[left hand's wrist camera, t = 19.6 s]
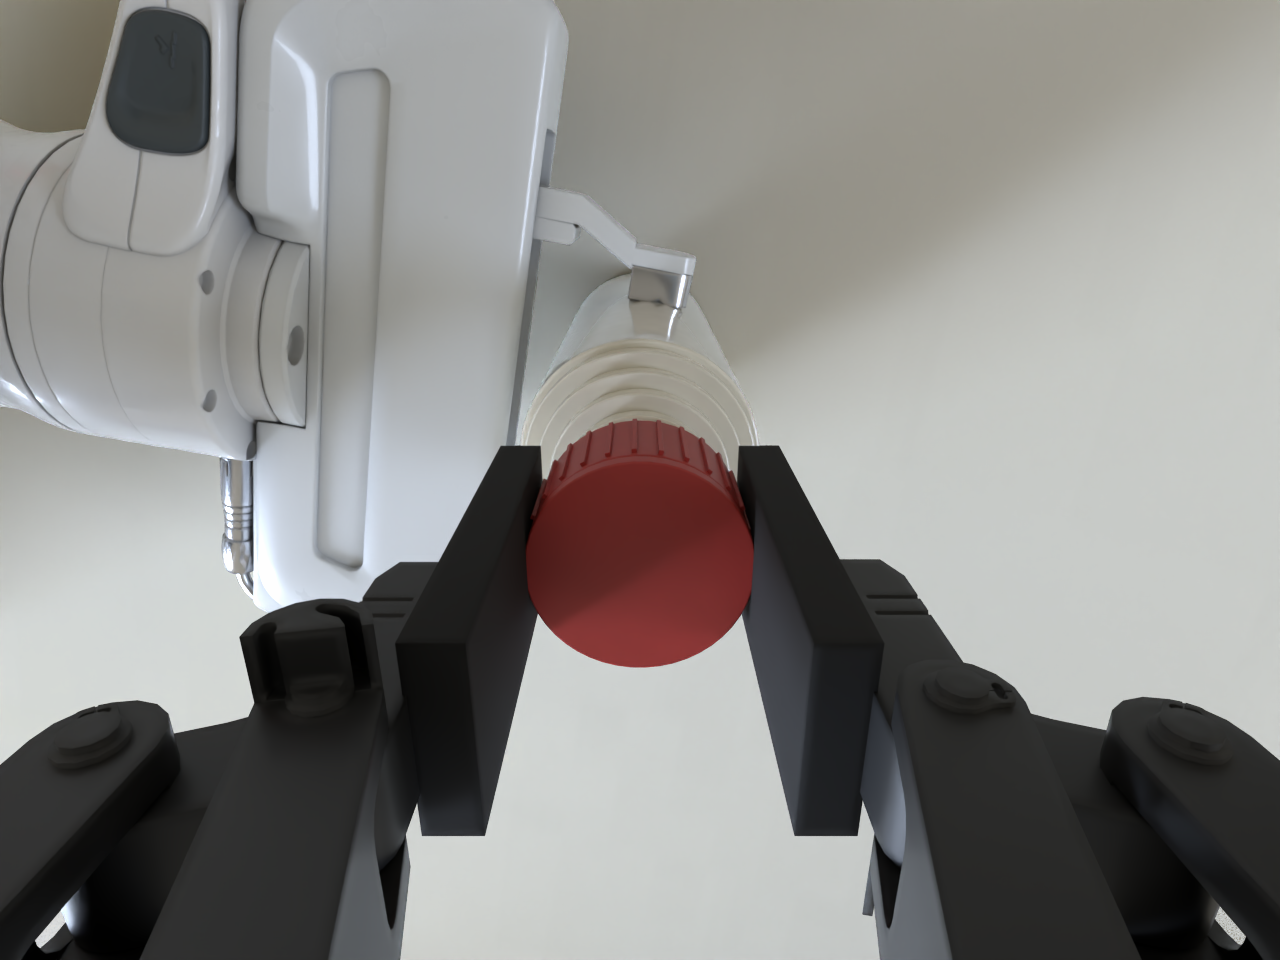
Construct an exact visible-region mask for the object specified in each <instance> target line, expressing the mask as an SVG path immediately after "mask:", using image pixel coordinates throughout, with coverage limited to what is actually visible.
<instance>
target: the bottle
mask: <svg viewBox="0 0 1280 960" xmlns="http://www.w3.org/2000/svg"><path fill="white" fill-rule="evenodd" d="M630 278H631V274H625V275H621V276H618V277H615V278H613V279H610V280H608V281H606V282H605V283H603V284H602V285H600V286H598V287H597V288H596V289H595V290H594V291H593V292H591V293H590V294H589V296H588V297H587V298H586V299H585V300H584V302H583V303H582V305H581V306H580V308H579V309H578V311H577V313H576V315H575V317H574V319H573V321H572V323H571V325H570V327H569V329H568V331H567V333H566V335H565V337H564V339H563V341H562V343H561V345H560V347H559V349H558V351H557V353H556V355H555V357H554V359H553V361H552V363H551V365H550V367H549V369H548V371H547V373H546V375H545V377H544V379H543V381H542V383H541V385H540V387H539V389H538V391H537V393H536V395H535V397H534V399H533V402H532V404H531V406H530V408H529V410H528V412H527V415H526V418H525V421H524V424H523V429H522V435H521V440H520V446H541V460H542V479H547V478H548V475H549V472H550V469H551V466H552V463H553V461H554V460H558V459H559V458H560V457H561V455H562V454H563V453H564V452H565V451H566V450H567V446H568V445H569V444H570V443H571V444H574V443H575V442H576V441H578V440H579V439H580V438H582V437H583V436H585V435H586V433H587V432H588V431H590V430H591V432H592V431H594V430H596V429H599V428H602V427H604V426H607V425H609V423H610V422H613V423H614V424H615V423H619V422H625V421H632V419H637V420H641V421H655V422H656V421H657V420H661V422H662V423H665V424H669V425H673V426H676V427H678V428H679V427H680V426H681V427H684V429H685V431H688V432H690V433H691V434H693V435H695V436H696V437H698V438H701V437H702V438H704V439H705V443H706V444H707V445H709V446H710V447H711V448H712V449H713V450H714V451H715V452H716V453H718V452H719V453H720V454H721V455H722V458H723V462H724V463H725V465H726V466H727V468H728V470H729V471H731V470H732V471H733V473H734V475H735V479H736V482H737V470H738V450H739V446H760V443H759V435H758V429H757V425H756V422H755V418H754V415H753V413H752V410H751V408H750V406H749V403H748V401H747V399H746V397H745V395H744V393H743V391H742V389H741V387H740V385H739V383H738V381H737V379H736V377H735V375H734V373H733V371H732V369H731V367H730V365H729V363H728V361H727V359H726V357H725V355H724V353H723V351H722V349H721V347H720V345H719V343H718V341H717V339H716V337H715V335H714V333H713V331H712V329H711V327H710V325H709V323H708V321H707V319H706V317H705V315H704V313H703V311H702V310H701V308H700V306H699V305H698V303H697V302H696V300H695V299H694V298H693V297H692V296H691V295H690V294H689V296H688V300H687V305H686V308H676V307H671V306H668V305H664V304H663V303H662V302H661V301H660V300H659V299H656V300H654V301H652V302H646V301H639V300H634V299H629V298H628V291H629V284H630Z"/></svg>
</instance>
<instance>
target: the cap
mask: <svg viewBox="0 0 1280 960" xmlns="http://www.w3.org/2000/svg"><path fill="white" fill-rule="evenodd" d="M745 510H746V509H745V506H744V503H743V500H742V497H741V494H740V491H739V488H738V485H737V482H736V479H735V475H734V473H733V471H732V470H731V471H729V470H728V468H727V466H726V465H725V463H724V462H723V458H722V455H721V454H720V453H719V452H718V453H716V452H715V451H714V450H713V449H712V448H711V447H710V446H709V445H707V444H706V443H705V439H704V438H702V437H701V438H698V437H696V436H695V435H693V434H691V433H690V432H688V431H685V429H684V427H681V426H680V427H679V428H678V427H676V426H673V425H669V424H665V423H662V422H661V420H657V421H656V422H655V421H641V420H637V419H632V421H625V422H619V423H615V424H614V423H613V422H610V423H609V425H607V426H604V427H602V428H599V429H596V430H594V431H592V432H591V430H590V431H588V432H587V433H586V435H585V436H583V437H582V438H580V439H579V440H578V441H576V442H575V443H574V444H571V443H570V444H569V445H568V446H567V450H566V451H565V452H564V453H563V454H562V455H561V457H560V458H559V459H558V460H554V461H553V463H552V466H551V469H550V472H549V475H548V478H547V479H543V481H542V484H541V487H540V490H539V493H538V496H537V499H536V502H535V505H534V508H533V511H532V515H531V518H530V519H532V520H533V523H532V526H531V529H530V532H529V536H528V539H527V543H526V565H527V581H528V592H529V595H530V598H531V601H532V603H533V605H534V607H535V609H536V611H537V613H538V614H539V615H540V617H541V618H542V620H543V621H544V623H545V624H546V625H547V626H548V627H549V629H550V630H551V631H552V632H553V633H554V634H555V635H556V636H557V637H558V638H560V639H561V640H562V641H563V642H564V643H566V644H567V645H569V646H570V647H572V648H573V649H575V650H576V651H578V652H580V653H582V654H584V655H586V656H588V657H590V658H593V659H596V660H598V661H601V662H604V663H608V664H613V665H617V666H625V667H655V666H662V665H667V664H672V663H675V662H678V661H682V660H685V659H687V658H690V657H692V656H694V655H696V654H698V653H700V652H702V651H703V650H705V649H707V648H708V647H710V646H712V645H713V644H714V643H715V642H717V641H718V640H719V639H720V638H722V637H723V636H724V635H725V634H726V633H727V632H728V631H729V630H730V629H731V628H732V626H733V625H734V624H735V622H736V621H737V620H738V618H739V617H740V616H741V614H742V612H743V610H744V608H745V607H746V605H747V603H748V600H749V598H750V595H751V588H752V573H753V557H754V544H753V539H752V536H751V528H750V525H749V522H748V519H747V515H746V512H745Z"/></svg>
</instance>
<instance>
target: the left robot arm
mask: <svg viewBox="0 0 1280 960" xmlns="http://www.w3.org/2000/svg"><path fill="white" fill-rule="evenodd" d="M542 481H543V479H542V460H541V446H500V448H499V450H498V452H497V453H496V455H495V457H494V459H493V461H492V463H491V465H490V467H489V468H488V470H487V472H486V474H485V476H484V478H483V480H482V481H481V483H480V485H479V487H478V489H477V491H476V493H475V495H474V496H473V498H472V500H471V502H470V504H469V506H468V508H467V510H466V511H465V513H464V515H463V517H462V519H461V521H460V523H459V524H458V526H457V528H456V530H455V532H454V534H453V536H452V538H451V539H450V541H449V543H448V545H447V547H446V549H445V551H444V552H443V554H442V556H441V558H440V560H439V562H399V563H398V564H396V565H395V566H393V567H392V568H390V569H389V570H387V571H386V572H384V573H383V574H381V575H380V576H378V577H377V578H375V580H374V581H373V583H372V584H371V586H370V587H369V589H368V590H367V591H366V593H365V594H364V596H363V597H362V601H360V602H355V601H351V600H347V599H324V598H320V599H315V600H309V601H304V602H298V603H294V604H291V605H288V606H286V607H283V608H280V609H277V610H274V611H272V612H270V613H268V614H267V615H265V616H263V617H262V618H260V619H258V620H257V621H255V622H253V623H252V624H251V625H250V626H249V627H248V628H247V629H246V630H245V631H244V633H243V634H242V635H241V636H240V637H239V638H240V642H241V646H242V651H243V655H244V659H245V664H246V668H247V672H248V677H249V681H250V685H251V690H252V694H253V699H254V705H253V708H252V710H251V712H250V714H249V717H247V718H243V719H239V720H236V721H232V722H228V723H223V724H219V725H214V726H209V727H204V728H199V729H194V730H189V731H184V732H180V733H175V734H174V732H173V729H172V725H171V722H170V718H169V715H168V713H167V712H166V711H165V710H163V709H162V708H161V707H160V706H159V705H158V704H154V703H149V702H143V701H138V700H136V701H125V702H113V703H108V704H103V705H98V707H95V706H94V707H91V708H88V709H85V710H82V711H79V712H77V713H76V714H74V715H72V716H70V717H67V718H65V719H63V720H61V721H59V722H56V723H54V724H53V725H51V726H50V727H48V728H47V729H45V730H44V731H42V732H41V733H39V734H38V735H36V736H35V737H33V738H32V739H31V740H29V741H28V742H27V743H26V744H24V745H23V746H22V747H21V748H20V749H18V750H17V751H16V752H15V753H14V754H13V755H11V756H10V757H9V758H8V759H7V760H6V761H4V762H3V763H2V764H1V765H0V960H400V956H401V947H402V938H403V929H404V920H405V911H406V902H407V893H408V884H409V875H410V861H409V853H408V847H407V840H406V832H407V829H408V827H409V824H410V821H411V818H412V815H413V813H414V810H415V807H416V804H418V811H419V818H420V825H421V832H422V836H485V833H486V829H487V825H488V821H489V816H490V812H491V808H492V804H493V800H494V795H495V791H496V787H497V783H498V779H499V774H500V770H501V766H502V762H503V758H504V753H505V749H506V745H507V741H508V737H509V732H510V728H511V724H512V720H513V716H514V711H515V707H516V703H517V699H518V695H519V690H520V686H521V682H522V678H523V674H524V669H525V665H526V661H527V657H528V653H529V648H530V644H531V640H532V636H533V631H534V627H535V623H536V619H537V615H538V613H537V611H536V609H535V607H534V605H533V603H532V601H531V598H530V595H529V592H528V581H527V565H526V543H527V539H528V536H529V532H530V529H531V526H532V523H533V520H532V519H530V518H531V515H532V511H533V508H534V505H535V502H536V499H537V496H538V493H539V490H540V487H541V484H542ZM737 485H738V488H739V491H740V494H741V497H742V500H743V503H744V506H745V509H746V510H745V512H746V515H747V519H748V522H749V525H750V528H751V536H752V539H753V544H754V557H753V573H752V588H751V595H750V598H749V600H748V603H747V605H746V607H745V608H744V610H743V612H742V617H743V621H744V625H745V629H746V633H747V638H748V642H749V646H750V650H751V655H752V659H753V663H754V667H755V671H756V676H757V680H758V684H759V688H760V692H761V697H762V701H763V705H764V709H765V713H766V718H767V722H768V726H769V730H770V734H771V739H772V743H773V747H774V751H775V755H776V760H777V764H778V768H779V772H780V776H781V781H782V785H783V789H784V793H785V797H786V802H787V806H788V810H789V814H790V818H791V823H792V827H793V831H794V835H795V836H858V829H859V822H860V815H861V808H862V800H863V802H864V805H865V808H866V810H867V813H868V816H869V819H870V821H871V824H872V827H873V830H874V832H875V833H874V840H873V847H872V853H871V860H870V866H869V873H868V880H867V886H866V893H865V900H864V907H863V915H869V916H872V915H873V909H875V918H876V927H877V936H878V945H879V954H880V960H1280V760H1278V759H1277V758H1276V757H1275V756H1274V755H1273V754H1271V753H1270V752H1269V751H1268V750H1267V749H1265V748H1264V747H1263V746H1262V745H1261V744H1259V743H1258V742H1257V741H1256V740H1255V739H1254V738H1252V737H1251V736H1250V735H1248V734H1247V733H1245V732H1244V731H1242V730H1241V729H1239V728H1238V727H1236V726H1235V725H1233V724H1232V723H1230V722H1229V721H1227V720H1225V719H1223V718H1221V717H1219V716H1216V715H1214V714H1212V713H1210V712H1208V711H1205V710H1204V709H1202V708H1200V707H1197V706H1194V705H1191V704H1188V703H1186V704H1185V703H1182V702H1180V701H1175V700H1170V699H1161V698H1149V697H1140V698H1135V699H1129V700H1124V701H1122V702H1121V703H1120V704H1119V705H1118V706H1116V707H1115V708H1114V709H1113V710H1112V713H1111V716H1110V720H1109V723H1108V727H1107V730H1102V729H1097V728H1092V727H1087V726H1082V725H1077V724H1072V723H1067V722H1063V721H1058V720H1053V719H1049V718H1045V717H1042V716H1038V715H1034V714H1031V713H1030V711H1029V709H1028V706H1027V704H1026V702H1025V701H1024V699H1023V698H1022V697H1021V695H1020V694H1019V693H1018V691H1017V690H1016V689H1015V688H1014V687H1013V686H1012V685H1010V684H1009V683H1008V682H1006V681H1005V680H1003V679H1002V678H1000V677H999V676H998V675H996V674H994V673H992V672H989V671H987V670H985V669H982V668H980V667H977V666H975V665H973V664H968V663H963V661H962V660H961V658H960V657H959V655H958V654H957V652H956V651H955V649H954V648H953V647H952V645H951V644H950V642H949V641H948V639H947V638H946V636H945V635H944V633H943V632H942V630H941V629H940V627H939V626H938V624H937V623H936V622H935V620H934V619H933V617H932V616H931V615H928V610H927V608H926V607H925V605H924V604H923V602H922V601H921V599H918V598H917V594H916V592H915V591H914V589H913V588H912V586H911V585H910V583H909V582H908V580H907V579H906V577H905V576H904V575H902V574H901V573H899V572H898V571H896V570H895V569H893V568H892V567H890V566H889V565H887V564H886V563H884V562H883V561H881V560H880V559H839V557H838V555H837V553H836V552H835V550H834V548H833V546H832V544H831V542H830V540H829V539H828V537H827V535H826V533H825V531H824V529H823V527H822V525H821V524H820V522H819V520H818V518H817V516H816V514H815V512H814V510H813V509H812V507H811V505H810V503H809V501H808V499H807V497H806V496H805V494H804V492H803V490H802V488H801V486H800V484H799V482H798V481H797V479H796V477H795V475H794V473H793V471H792V469H791V468H790V466H789V464H788V462H787V460H786V458H785V456H784V454H783V453H782V451H781V449H780V447H779V446H739V450H738V470H737ZM1219 907H1221V908H1222V909H1223V910H1224V911H1225V913H1226V914H1227V915H1228V916H1229V917H1230V918H1231V920H1232V921H1233V922H1234V923H1235V924H1236V925H1237V926H1238V928H1239V929H1240V930H1241V931H1242V932H1243V933H1244V935H1245V936H1246V938H1245V941H1244V943H1243V944H1242V945H1239V944H1237V943H1236V942H1235V941H1234V940H1233V939H1232V938H1231V937H1230V936H1229V935H1228V934H1227V933H1226V932H1225V931H1224V930H1223V928H1222V927H1221V926H1220V925H1219V924H1218V922H1217V921H1216V920H1215V917H1216V914H1217V912H1218V909H1219ZM60 910H61V911H62V914H63V916H64V919H65V921H66V923H65V924H64V925H63V926H62V927H61V929H60V930H59V931H58V932H57V933H56V935H55V936H54V937H53V938H52V939H50V940H49V941H48V942H47V943H46V944H45V945H44V946H42V947H41V948H39V947H38V946H37V945H36V942H35V940H36V938H37V937H38V936H39V935H40V934H41V933H42V931H43V930H44V929H45V928H46V927H47V926H48V924H49V923H50V922H51V921H52V920H53V919H54V917H55V916H56V915H57V914H58V913H59V912H60Z"/></svg>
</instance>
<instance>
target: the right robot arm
mask: <svg viewBox="0 0 1280 960" xmlns="http://www.w3.org/2000/svg"><path fill="white" fill-rule="evenodd" d="M568 44H569V35H568V29H567V27H566V24H565V21H564V19H563V17H562V15H561V12H560V11H559V9H558V7H557V6H556V4H555V2H554V1H553V0H120V4H119V8H118V13H117V17H116V21H115V25H114V29H113V33H112V37H111V41H110V45H109V49H108V53H107V57H106V61H105V65H104V69H103V72H102V76H101V80H100V83H99V87H98V90H97V94H96V97H95V100H94V104H93V107H92V110H91V114H90V117H89V120H88V123H87V126H86V128H85V129H80V130H70V131H61V132H45V133H39V132H33V131H28V130H24V129H21V128H18V127H16V126H14V125H12V124H10V123H8V122H6V121H4V120H2V119H0V407H9V408H15V409H18V410H21V411H24V412H26V413H28V414H30V415H32V416H34V417H36V418H38V419H41V420H43V421H45V422H47V423H49V424H52V425H54V426H56V427H60V428H63V429H67V430H70V431H73V432H77V433H82V434H88V435H93V436H99V437H105V438H111V439H117V440H123V441H129V442H135V443H140V444H146V445H152V446H158V447H164V448H172V449H177V450H183V451H189V452H195V453H200V454H206V455H212V456H217V457H220V483H221V498H222V504H223V509H224V518H225V533H224V534H223V537H222V556H223V561H224V565H225V568H226V570H227V571H228V572H230V573H233V574H236V576H237V579H238V581H239V583H240V585H241V587H242V588H243V590H244V591H245V592H246V594H247V595H248V596H249V597H250V598H251V599H252V600H254V603H255V605H256V606H257V607H258V608H260V609H262V610H264V611H266V612H269V613H270V612H272V611H274V610H277V609H280V608H283V607H286V606H288V605H291V604H294V603H298V602H304V601H309V600H315V599H320V598H324V599H347V600H351V601H355V602H360V601H362V597H363V596H364V594H365V593H366V591H367V590H368V589H369V587H370V586H371V584H372V583H373V581H374V580H375V578H377V577H378V576H380V575H381V574H383V573H384V572H386V571H387V570H389V569H390V568H392V567H393V566H395V565H396V564H398V563H399V562H439V560H440V558H441V556H442V554H443V552H444V551H445V549H446V547H447V545H448V543H449V541H450V539H451V538H452V536H453V534H454V532H455V530H456V528H457V526H458V524H459V523H460V521H461V519H462V517H463V515H464V513H465V511H466V510H467V508H468V506H469V504H470V502H471V500H472V498H473V496H474V495H475V493H476V491H477V489H478V487H479V485H480V483H481V481H482V480H483V478H484V476H485V474H486V472H487V470H488V468H489V467H490V465H491V463H492V461H493V459H494V457H495V455H496V453H497V452H498V450H499V448H500V446H515V443H516V436H517V428H518V421H519V413H520V406H521V398H522V391H523V383H524V376H525V368H526V361H527V353H528V346H529V338H530V331H531V323H532V316H533V308H534V300H535V293H536V285H537V278H538V270H539V263H540V255H541V248H542V240H544V241H549V242H554V243H560V244H565V245H571V244H572V243H573V242H575V241H576V240H577V239H578V238H580V233H581V227H582V228H583V229H584V230H585V231H586V232H587V233H589V234H590V235H591V236H592V237H593V238H594V239H595V240H597V241H598V242H599V243H600V244H601V245H602V246H604V247H605V248H606V249H607V250H608V251H609V252H611V253H612V254H613V255H614V256H615V257H616V258H618V259H619V260H620V261H621V262H622V263H623V264H625V265H626V266H627V267H628V268H629V269H630V270H631V268H632V272H631V278H630V284H629V291H628V298H629V299H634V300H639V301H646V302H652V301H654V300H656V299H659V300H660V301H661V302H662V303H663V304H664V305H668V306H671V307H676V308H686V305H687V300H688V296H689V291H690V287H691V283H692V278H693V273H694V268H695V263H696V259H697V258H696V257H695V256H694V255H692V254H688V253H685V252H681V251H676V250H671V249H666V248H661V247H656V246H650V245H645V244H640V243H636V240H637V238H636V237H635V236H633V235H632V234H631V233H630V232H629V231H628V230H627V229H626V228H624V227H623V226H622V225H621V224H620V223H619V222H618V221H617V220H615V219H614V218H613V217H612V216H611V215H610V214H609V213H608V212H607V211H605V210H604V209H603V208H602V207H601V206H600V205H599V204H598V203H596V202H595V201H594V200H593V199H592V198H591V197H590V196H589V195H587V194H584V193H579V192H574V191H569V190H564V189H559V188H554V187H550V180H551V173H552V165H553V158H554V150H555V142H556V135H557V127H558V120H559V112H560V105H561V97H562V90H563V82H564V75H565V67H566V59H567V52H568ZM252 571H253V580H252V578H251V576H250V572H252Z"/></svg>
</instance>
